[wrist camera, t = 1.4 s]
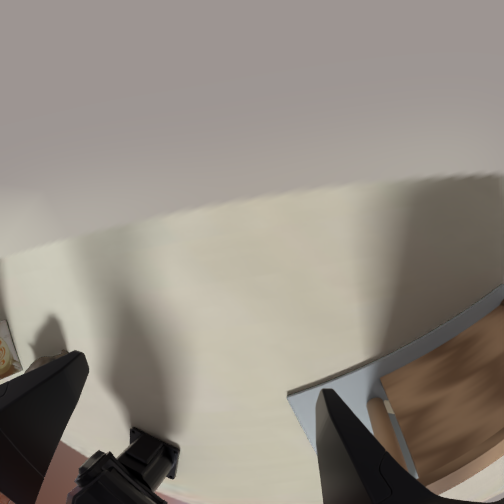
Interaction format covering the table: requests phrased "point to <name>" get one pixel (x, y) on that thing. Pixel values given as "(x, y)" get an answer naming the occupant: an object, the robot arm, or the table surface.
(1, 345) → the coffee box
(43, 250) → the table surface
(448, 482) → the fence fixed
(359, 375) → the card
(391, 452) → the panel
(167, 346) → the table surface
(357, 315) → the table surface
